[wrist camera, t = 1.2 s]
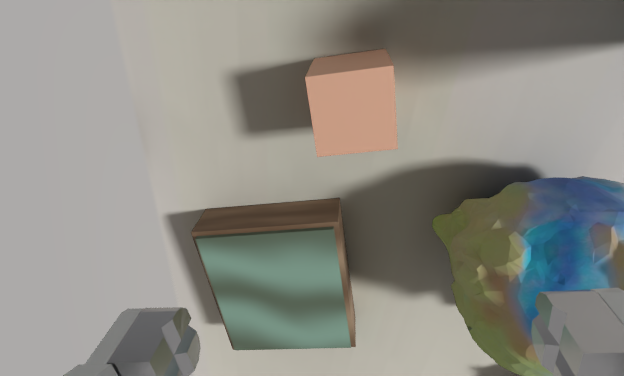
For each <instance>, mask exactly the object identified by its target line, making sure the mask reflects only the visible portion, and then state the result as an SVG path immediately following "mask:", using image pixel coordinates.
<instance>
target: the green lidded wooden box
mask: <svg viewBox="0 0 624 376" xmlns="http://www.w3.org/2000/svg"><path fill="white" fill-rule="evenodd" d="M191 234H192V237H193V240H194V242H195V245H196V248H197V251H198V254H199V256H200V259H201V262H202V265H203V267H204V270H205V273H206V276H207V279H208V281H209V284H210V287H211V290H212V293H213V295H214V298H215V301H216V304H217V306H218V309H219V312H220V315H221V318H222V320H223V323H224V326H225V329H226V332H227V334H228V337H229V340H230V343H231V346H232V348H233V350H265V349H308V348H351V347H356V345H355V311H354V304H353V296H352V289H351V281H350V273H349V266H348V258H347V251H346V243H345V236H344V228H343V220H342V213H341V205H340V198H335V199H323V200H310V201H298V202H286V203H274V204H262V205H250V206H238V207H226V208H214V209H206V210H205V211H204V213H203V214H202V216H201V218H200V219H199V221H198V222H197V224H196V225H195V227H194V228H193V230H192V232H191Z"/></svg>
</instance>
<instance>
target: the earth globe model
mask: <svg viewBox="0 0 624 376" xmlns="http://www.w3.org/2000/svg"><path fill="white" fill-rule="evenodd" d="M432 227H433V229H434V231H435V232H436V234H437V235H438V237H439V238H440V239H441V240H442V242H443V243H444V244H445V246H446V248H447V250H448V253H449V258H450V263H451V271H452V275H453V277H454V279H455V281H454V282H453V284H452V285H451V288H452V291H453V294H454V297H455V301H456V306H457V308H458V310H459V312H460V313H461V315H462V316H463V318H464V320H465V324H466V326H467V328H468V330H469V332H470V334H471V336H472V338H473V340H474V341H475V342H476V343H477V345H478V346H479V347H480V348H481V349H482V350H483V351H484V352H485V353H487V354H488V355H489V356H490V357H491V358H493V359H494V361H495V362H496V363H497V364H498V365H500V366H501V367H503V368H505V369H507V370H509V371H511V372H513V373H516V374H518V375H521V376H553V373H551V372H550V371H549V370H547V369H546V368H545V367H543V366H542V365H541V363H540V361H539V359H538V357H537V355H536V352H535V349H534V346H533V341H532V334H531V329H532V320H533V319H534V318H536V317H537V316H538V315H539V312H538V310H537V308H536V307H535V302H536V296H537V295H538V294H539V292H547V291H567V290H586V289H588V290H591V289H603V288H619V289H621V290H623V291H624V183H620V182H615V181H610V180H605V179H596V178H589V177H584V176H582V177H577V178H544V179H536V180H533V181H529V182H515V183H512V184H509V185H507V186H506V187H505V188H504V189H503V190H502V191H501V192H500V193H499V194H497V195H495V196H493V197H491V198H481V199H466V200H464V201H463V202H462V204H461V205H460V206H459V207H458V208H456V209H455V210H454V211H453V212H452V213H450V214H442V215H439V216H436V217H435V218H434V219H433V223H432Z"/></svg>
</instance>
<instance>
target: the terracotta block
mask: <svg viewBox="0 0 624 376" xmlns="http://www.w3.org/2000/svg"><path fill="white" fill-rule="evenodd" d="M305 81H306V87H307V94H308V100H309V107H310V113H311V120H312V126H313V132H314V139H315V145H316V152H317V157H321V156H331V155H341V154H351V153H361V152H371V151H381V150H391V149H398V145H397V124H396V103H395V82H394V65H393V63H392V61H391V59H390V57H389V55H388V53H387V51H386V49H379V50H372V51H365V52H358V53H350V54H343V55H336V56H329V57H322V58H315V59H314V60H313V62H312V64H311V66H310V68H309V70H308V72H307V74H306V76H305Z"/></svg>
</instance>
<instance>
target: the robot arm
mask: <svg viewBox="0 0 624 376" xmlns="http://www.w3.org/2000/svg"><path fill="white" fill-rule="evenodd" d="M535 307H536V308H537V310H538V312H539V315H538V316H537V317H536V318H534V319H533V320H532V329H531V334H532V341H533V346H534V349H535V352H536V355H537V357H538V359H539V361H540V363H541V365H542V366H543V367H545V368H546V369H547V370H549V371H550V372H551V373H553V376H624V291H623V290H621V289H619V288H603V289H591V290H588V289H586V290H567V291H547V292H539V294H538V295H537V296H536V302H535ZM190 320H191V317H190V315H189V313H188V310H187V309H186V308H145V309H127V310H125V311H124V312H122V313H121V314H120V315H119V317H118V318H117V320H116V321H115V322H114V324H113V325H112V327H111V328H110V329H109V331H108V332H107V334H106V335H105V337H104V338H103V339H102V341H101V342H100V344H99V345H98V346H97V348H96V349H95V351H94V352H93V353H92V355H91V356H90V358H89V359H88V360H87V362H86V363H85V364H84V365H78V366H76V367H75V368H73V369H72V370H70V371H69V372H68V373H66V374H65V375H63V376H189V375H190V374H191V373H192V372H194V371H195V368H196V365H197V363H198V360H199V353H200V341H199V337H198V334H197V331H195V330H194V329H193V328H191V327H190V326H189V325H188V324H189V322H190Z"/></svg>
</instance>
